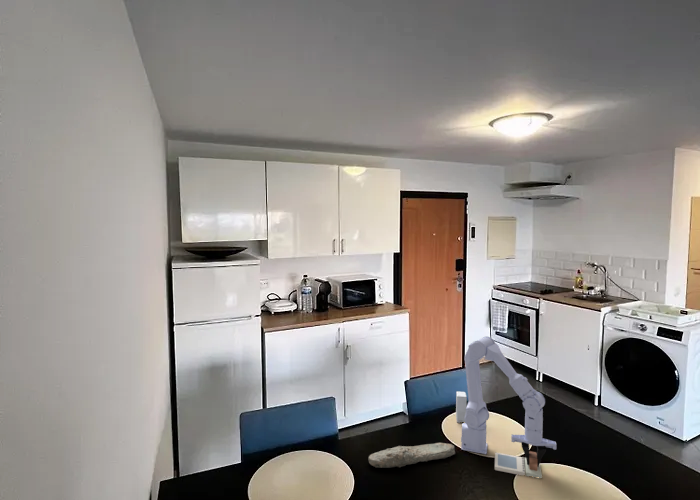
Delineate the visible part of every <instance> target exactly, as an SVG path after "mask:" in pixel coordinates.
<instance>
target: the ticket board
mask: <svg viewBox="0 0 700 500" xmlns="http://www.w3.org/2000/svg"><path fill="white" fill-rule="evenodd" d="M494 470H495V471H498V472H504V473H509V474H513V475H518V474H519V476H523V475H525V476H526V471H525V457H524V456H522V457H521V456H517V455H512V454H507V453H502V452H496V451H495V452H494Z"/></svg>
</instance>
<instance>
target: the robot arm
mask: <svg viewBox="0 0 700 500" xmlns="http://www.w3.org/2000/svg"><path fill="white" fill-rule="evenodd" d="M467 347H468V348H467V350H466V352H465V354H464V364H465V365H464V366H465V374H466V375H465V377H466V387H467V398H468V402H467V405H466V414H465V417H464V419H465V423H462V424H461V437H460V442H461V448H460V449H461V450H463V451H468V452H472V453H478V454H482V455H487V454H488V442H487V421H488V420H490V412H489V410H488V408H487V403H486V402H485V401H484V400H483V390H482V377H481V368H480V360H482V359H483V358H484V360H486V361H491V362H494V364H496V366H497V367H498V368H499V369H500V370H501V372H503V374H505V375H506V377H507V378H508V381H509V383H508V384H509V385H510V386H511V388H512V389H513V391H514V392H515V394H517V396H519V398H520V400H522V407H523V408H524V410H525V414H524V415H525V416H524V434H511V437H510V438H511V440H510V441H511V443H519V444H520V443H521V449H522V451H523V452H524V455H525V458H526V459H527V465H529V451H530V445H531V446H533V447H534V446H536V453H537V460H538V461H537V467H539V464H540V465H541V461H542V458H543V456H544V455H545V454H546V451H547V449H546V448H550V449H553V450H554V451H555V450H557V442H556V441H554V440H550V439H547V438H543V424H544V423H543V421H544V417H543V415H544V414H543V413H544V411H543V407H544V406H545V405H546V398H545V397H544V395H543V394H542V393H541V392H540V391H537V390H536V389H535V388H533V386H532V385H531V384H530V382H529V381H528V380H529V379H528V378H527V377H526V376H524V375H523V374H521V373H517V372H516V370H515V369H514V368H513V366H512V364H511V363H510V362H509V360H508V359H507V357H506V356H505V355H504V354H503V353H502V351H501V349H500V347H499V344H497V343H496V341H495V340H494V339H493V338H492V337H490V336H484V337H481V338H479V339H477V340H474V341H472V342H471V343H470V344H468V346H467Z"/></svg>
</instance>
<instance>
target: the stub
mask: <svg viewBox="0 0 700 500" xmlns="http://www.w3.org/2000/svg"><path fill="white" fill-rule="evenodd" d="M537 461H538V460H537V451H531V450H529V465H527V459H526V457H524V466H525V477H529V476H533V477H532V478H534V477H539V478H543V475H542V469H541V463H540V464H539V467H537ZM539 478H538V479H539Z"/></svg>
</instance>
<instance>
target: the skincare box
mask: <svg viewBox="0 0 700 500" xmlns="http://www.w3.org/2000/svg"><path fill="white" fill-rule="evenodd" d="M455 396H456V398H455V399H456V400H455V401H456V403H455V407H456V408H455V418H456V422H457V423H460V422H465V419H464V417H465V414H466V407H467V404H468V402H467V398H468V396H467V393H466V391H457V390H456V394H455Z"/></svg>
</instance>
